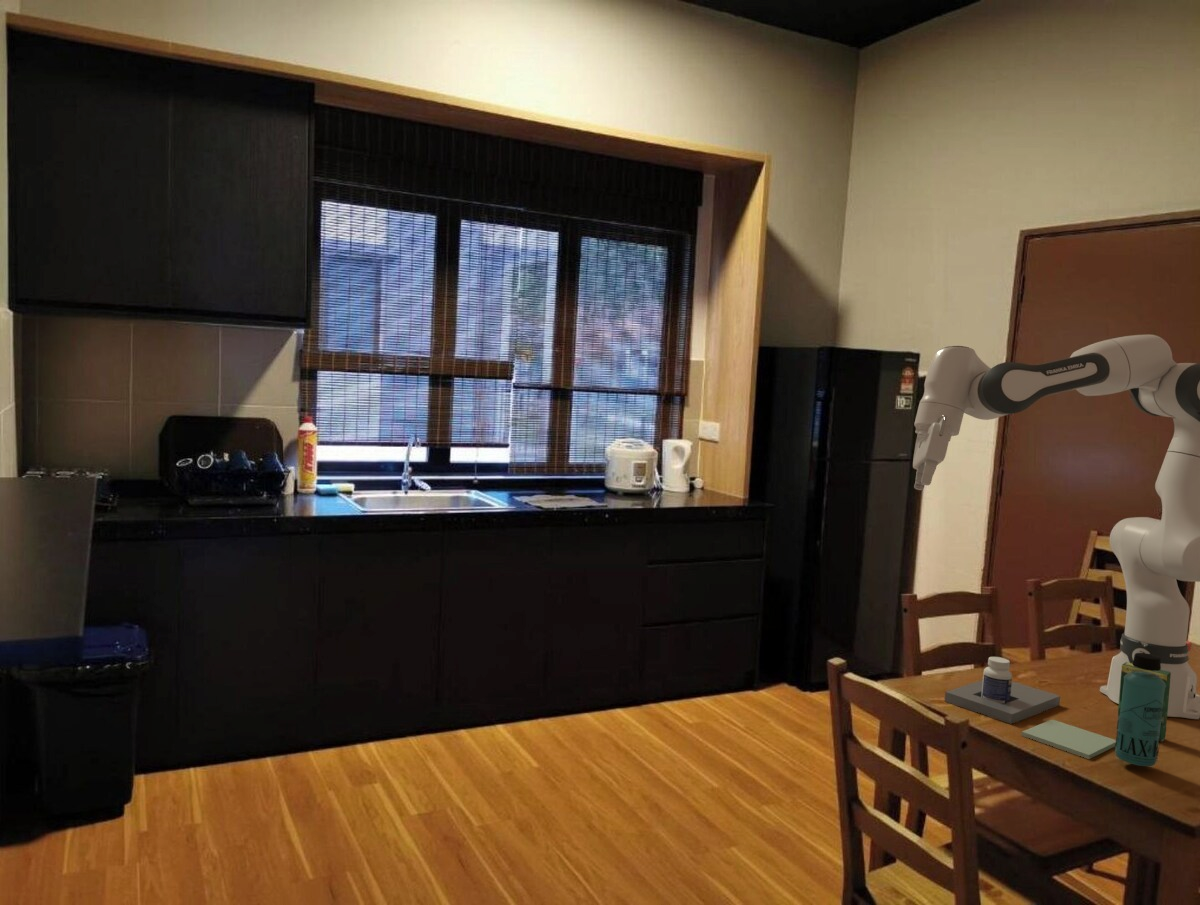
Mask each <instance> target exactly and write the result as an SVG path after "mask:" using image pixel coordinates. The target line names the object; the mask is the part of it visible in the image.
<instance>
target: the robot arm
mask: <svg viewBox="0 0 1200 905" xmlns="http://www.w3.org/2000/svg"><path fill="white" fill-rule="evenodd" d="M928 366H929V367H928V370H927V372H926V376H925V379H924V380H925V381H924V384H923V387H924V392H923V395H922V398H921V399H920V400H919V404H918V407H917V410H916V411H917V412H916V415H915V419H914V420H915V421H914V424H913V425H914V427H915V430H914V432H915V434H916V435H917V436H916V439H915V445H914V453H913V459H912V460H913V461H912V468H913V469H914V470H916V473H915V474H916V475H915V483H914V486H913V488H914V489H915V490H918V491H922V490H924V488H925V486H930V485H931V483H932V480H933V478H934V474H935V472H936V471H937V470H936V469H937V467H938V465H940V464H941V463H942V462H943V461H944V460H945V458H946V454H947V450H948V447H949V442H951V439H952V437H954V436H959V433H960V432H961V427H962V423H963V419H964V415H965V414H966V415H968V416H971V417H972V418H975V419H978V420H983V421H984V420H985V421H989V420H994V419H998V418H1001V417H1004V416H1008V415H1011V414H1012V415H1013V414H1019V413H1020V412H1021V413H1022V412H1023V411H1026V410H1027V409H1029V407H1031V406H1032V405H1033V404H1035V403H1036V401H1038V400H1039V399H1041V398H1043V397H1047V396H1051V395H1056V394H1060V393H1064V392H1069V391H1074V390H1076V391H1077V393H1079V394H1081V395H1083V396H1086V397H1093V396H1094V397H1095V396H1106V395H1107V396H1108V395H1112V394H1117V393H1122V392H1125V391H1129V393H1130V395H1129V396H1130V397H1131V400H1132V402H1133V404H1134V405H1135V407H1136V408H1137V409H1139V410H1140V411H1141V412H1142V413H1143V412H1144V414H1147V415H1151V416H1155V417H1165V418H1166V417H1167V418H1172V420H1173V424H1174V425H1173V426H1174V430H1173V431H1174V432H1173V436H1172V439H1171V441H1170V443H1169V446H1168V449H1166V450H1167V451H1166V453H1165V456H1164V458H1163V462H1162V465H1161V468H1160V469H1159V473H1158V475H1157V478H1156V480H1155V484H1154V488H1155V491H1156V493H1157V495H1158V496H1159V497H1160V500H1161V506H1162V507H1161V510H1162V511H1161V512H1162V513H1161V517H1160V518H1161V519H1157V518H1152V517H1149V516H1138V517H1137V516H1134V517H1127V518H1123V519H1122V520H1119V521H1118V522H1116V524H1114V525H1113V528H1112V530H1111V531H1110V533H1109V547H1110V549H1111V551H1112V553H1113V554H1114V555H1115V556H1116V558H1117V560H1118V562H1119V564H1120V567H1121V571H1122V575H1123V580H1124V584H1125V589H1126V610H1125V611H1126V614H1125V624H1124V632H1123V633H1122V634H1121V638H1120V646H1119V650H1120V652H1119V653H1118V654H1116V655H1113V657H1112V659H1111V663H1110V669H1109V674H1108V679H1107V684H1105V685H1101V686H1100V688H1099V692H1100V693H1102V694H1104V695H1105V696H1107V697H1108V698H1109V700H1111V701H1112V702H1114V703H1116V704H1118V705H1119V694H1120V680H1121V669H1122V664H1124V663H1125V662H1127V663H1132V664H1133V660H1134V655H1135V654H1136V653H1147V654H1151V655H1155V656H1158V657H1159V658H1160V659H1161V670H1164V671H1169V672H1171V677H1170V689H1169V702H1168V712H1167V717H1169V718H1170V717H1171V718H1172V717H1173V718H1185V719H1191V720H1199V719H1200V694H1197V683H1198V682H1197V681H1198V676H1197V674H1196V673H1195V671H1194V670H1193V669H1192V667H1191V666H1190V663H1188V661H1189V660H1190V658H1189V655H1190V651H1191V649H1192V642H1191V641H1187V638H1188V628H1189V621H1190V612H1191V611H1190V605H1189V603H1188V602H1187V600H1186V599H1185V597H1184V596H1183V595H1182V593H1181V591H1180V588H1179V586H1178V581H1181V582H1196V583H1197V582H1198V583H1199V582H1200V362H1199V363H1195V362H1193V363H1192V362H1180V363H1177V362H1176V361H1175V360H1174V359H1173V353H1172V349H1171V346H1170V345H1169V344H1168V342H1167V341H1166V340H1165V339H1164V338H1162V337H1161V336H1159V335H1156V334H1134V335H1125V336H1119V337H1115V338H1109V339H1104V340H1102V341H1098V342H1094V343H1092V344H1089V345H1087V346H1084V347H1081V348H1079V349H1077V350H1075V351H1074V352H1072V353H1071V355H1070V357H1066V358H1062V359H1058V360H1054V361H1050V362H1045V363H1039V364H1026V363H1023V362H1022V363H1021V362H1015V361H1006V362H1001V363H997V364H996V365H994V366H993V367H990V366H989V365H987V364H986V362H984V361H983V360H982V359H981V358H980V357H979V356H978V354H977V352H976V351H975V349H973V348H971V347H968V346H963V345H951V346H950V345H949V346H945V347H943V348H941V349H939V350H937V351H936V352H935V353H934V355H933V357H932V359H931V362H930V363H929V365H928ZM1177 580H1178V581H1177Z"/></svg>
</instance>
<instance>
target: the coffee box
mask: <svg viewBox="0 0 1200 905" xmlns="http://www.w3.org/2000/svg"><path fill="white" fill-rule="evenodd" d="M1132 671H1144V672H1149V673H1153V674H1156V675H1158V676H1159V677H1160V678H1161V679H1162V680H1163V681H1164V683H1165V684H1166V687H1165V692H1164V700H1163V708H1164V709H1163V711H1162V712H1163V713H1162V717H1163V718H1162V719H1161V727H1160V732H1161V733H1160V735H1159V743H1162V742H1163V741H1165V739H1166V733H1167V722H1168V716H1167V712H1168V702H1169V689H1170V677H1171V672H1169V671H1164V670H1159V671H1151V670H1145V669H1141V668H1138V667H1135V666H1134V665H1133V664H1132V663H1127V662H1125V663H1124V664H1122V669H1121V680H1120V694H1119V704H1118V708H1117V710H1118V711H1117V721H1116V731H1118V724H1119V716H1120V714H1119V713H1120V710H1121V701H1122V693H1123V684H1124V676H1125V675H1126V674H1128V673H1130V672H1132ZM1117 723H1118V724H1117Z"/></svg>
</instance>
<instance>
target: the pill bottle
mask: <svg viewBox="0 0 1200 905" xmlns="http://www.w3.org/2000/svg"><path fill="white" fill-rule="evenodd" d="M1010 664H1011V662H1010V660H1009V659H1008V658H1004V657H1000V656H989V657H988V659H987V665H988V666H986V667H985V668H984V669H983V674H982V680H983V683H982V693H981V697H982V698H985V699H988V700H991V701H994V702H997V703H1000V704H1006V703H1009V702H1010V695H1011V685H1012V681H1013V674H1012V671H1010V670H1009V669H1010V667H1011V666H1010Z"/></svg>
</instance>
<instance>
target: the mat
mask: <svg viewBox="0 0 1200 905" xmlns="http://www.w3.org/2000/svg"><path fill="white" fill-rule="evenodd" d="M1021 737H1024V738H1027V739H1029V738H1030V740H1032V739H1033V741H1035V740H1036V742H1038V743H1041V744H1043V745H1046V744H1047V746H1049V745H1050V746H1049V747H1052V746H1053V748H1055V749H1057V750H1058V749H1059V750H1060V751H1064V752H1066V751H1067V752H1066V753H1070V754H1073V755H1075V756H1078V757H1080V756H1081V758H1083V757H1084V759H1086V760H1090V759H1093V758H1094V757H1096V756H1099V755H1101V754H1102V753H1104V752H1107V751H1109V750H1110V749H1112V748H1116V746H1115V744H1116V741H1115V740H1116V739H1113V738H1111V737H1107V736H1105V735H1101V734H1099V733H1095V732H1092V731H1090V730H1085V729H1083V728H1080V727H1077V726H1074V725H1071V724H1067V723H1065V722H1062V721H1058V720H1056V719H1049V720H1047V721H1045V722H1042V723H1039V724H1038V725H1037V724H1036V725H1035V726H1032V727H1030V728H1028V729H1025V730H1023V731H1022V730H1021Z"/></svg>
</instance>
